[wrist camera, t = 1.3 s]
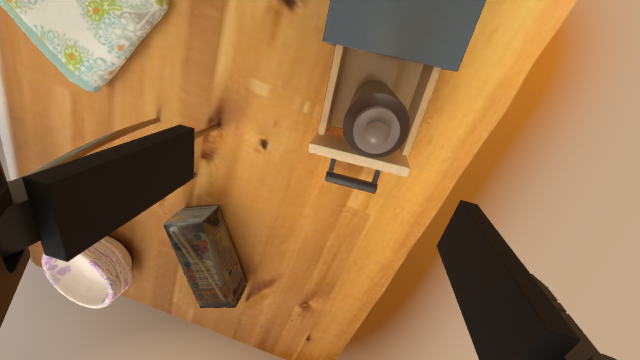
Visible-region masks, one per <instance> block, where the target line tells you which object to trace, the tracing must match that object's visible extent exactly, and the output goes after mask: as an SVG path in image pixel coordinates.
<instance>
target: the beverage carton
mask: <svg viewBox="0 0 640 360" xmlns="http://www.w3.org/2000/svg"><path fill="white" fill-rule="evenodd" d="M163 226H164V228H165V230H166V233H167V235H168V237H169V239H170V242H171V244H172V247H173V249H174V251H175V253H176V256H177V258H178V260H179V263H180V265H181V267H182V269H183V272H184V274H185V276H186V278H187V281H188V283H189V285H190V287H191V289H192V291H193V294H194V296H195V298H196V300H197V302H198V304H199V306H200V308H223V307H226V308H235V307H236V306H237V304H238V302H239V301H240V299H241V296H242V295H243V293H244V290H245V288H246V286H247V284H246V281H245V278H244V275H243V272H242V269H241V266H240V263H239V261H238V258H237V255H236V252H235V250H234V247H233V244H232V242H231V239H230V236H229V233H228V230H227V228H226V225H225V222H224V219H223V217H222V214H221V212H220V209H219V206H218V205H214V206H205V207H193V208H183V209H181V210H180V211H179V212H177V213H176V214H175V215H174V216H173V217H172V218H171V219H169V220H168V221H166V222H165V223H164V224H163Z"/></svg>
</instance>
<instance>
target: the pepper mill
mask: <svg viewBox="0 0 640 360" xmlns="http://www.w3.org/2000/svg"><path fill="white" fill-rule="evenodd" d="M409 129H410V118H409V114H408V111H407V109H406V108H405V106H404V105H403V103H402V102H401V101H400V100H399V99H398V97H397V96H396V95H395V94H394V92H393V91H392V90H391V89H390V88H389V86H388V85H387V84H385V83H384V82H382V81H379V80H369V81H366V82H364V83H362V84H361V85H360V86H359V87H358V88H357V89H356V91H355V93H354V95H353V97H352V100H351V102H350V104H349V107H348V109H347V111H346V114H345V117H344V120H343V133H344V137H345V140H346V141H347V143H348V145H349V146H350V147H351V148H352V149H353V150H354V151H355V152H356V153H358V154H360V155H362V156H365V157H369V158H381V157H385V156H388V155H390V154H392V153H394V152H395V151H396V150H398V149H399V148H400V147H401V146H402V145H403V143H404V142H405V140H406V138H407V136H408V133H409Z"/></svg>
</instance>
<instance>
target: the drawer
mask: <svg viewBox="0 0 640 360" xmlns="http://www.w3.org/2000/svg"><path fill="white" fill-rule="evenodd" d="M440 71H441V68H438V67H433V66H429V65H425V64H420V63H416V62H411V61H407V60H402V59H398V58H394V57H389V56H385V55H380V54H376V53H372V52H367V51H363V50H358V49H354V48H349V47H345V46H341V45H336V48H335V53H334V58H333V63H332V68H331V72H330V77H329V82H328V87H327V92H326V97H325V101H324V106H323V111H322V116H321V121H320V126H319V130H318V132H317V134H316V135H315V137H314V138H313V140H312V141H311V142H310V145H309V150H308V152H309V153H313V154H317V155H321V156H325V157H329V158H332V159H331V163H330V167H329V171H327V173H326V177H325V181H327V182H331V183H335V184H339V185H343V186H347V187H351V188H354V189H358V190H362V191H366V192H370V193H374V194H375V193H376V190H377V181H378V178H379V175H380V172H381V171H384V172H388V173H392V174H396V175H400V176H404V177H408V175H409V172H410V169H411V168H410V166H409V163H408V161H407V158H406V156H409V154H410V151H411V148H412V146H413V143H414V140H415V138H416V135H417V132H418V130H419V127H420V124H421V122H422V119H423V116H424V114H425V111H426V108H427V106H428V103H429V100H430V98H431V95H432V92H433V90H434V87H435V84H436V82H437V79H438V76H439V74H440ZM369 80H379V81H382V82H384V83H385V84H387V85H388V86H389V88H390V89H391V90H392V91H393V92H394V94H395V95H396V96H397V97H398V99H399V100H400V101H401V102H402V103H403V105H404V106H405V108H406V109H407V111H408V114H409V118H410V129H409V133H408V136H407V138H406V140H405V142H404V143H403V145H402V146H401V147H400V150H396V151H395V152H394V153H392V154H390V155H388V156H385V157H381V158H369V157H365V156H362V155H360V154H358V153H356V152H355V151H354V150H353V149H352V148H351V147H350V146H349V145H348V143H347V141H346V140H345V137H344V136H340V135H336V134H332V133H328V132H326V131H327V130H328V128H329V126H330V125H331V126H335V127H339V128H343V120H344V117H345V114H346V111H347V109H348V107H349V104H350V102H351V100H352V97H353V95H354V93H355V91H356V89H357V88H358V87H359V86H360V85H361V84H362V83H364V82H366V81H369ZM336 159H337V160H341V161H345V162H349V163H353V164H357V165H360V166H364V167H368V168H372V169H376V170H375V174H374V177H373V180H372V182H369V181H365V180H361V179H357V178H353V177H349V176H345V175H341V174H337V173H334V172H333V170H334V166H335V162H336Z"/></svg>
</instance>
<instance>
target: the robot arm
mask: <svg viewBox="0 0 640 360" xmlns="http://www.w3.org/2000/svg"><path fill="white" fill-rule="evenodd" d="M194 130H195V128H191V127H187V126H184V125H177V126H174V127H171V128H168V129H165V130H162V131H159V132H156V133H153V134H150V135H147V136H144V137H141V138H138V139H135V140H132V141H129V142H126V143H123V144H120V145H117V146H114V147H111V148H108V149H105V150H102V151H99V152H96V153H93V154H90V155H87V156H84V157H81V158H78V159H75V160H72V161H69V162H66V163H63V164H60V165H57V166H54V167H51V168H48V169H45V170H42V171H39V172H36V173H33V174H30V175H27V176H24V177H21V178H18V179H15V180H12V181H9V182H7V180H6V177H5V174H4V171H3V168H2V165H1V162H0V327H1V325H2V322H3V320H4V318H5V315H6V313H7V310H8V308H9V306H10V304H11V301H12V299H13V296H14V294H15V292H16V289H17V287H18V285H19V282H20V280H21V278H22V275H23V273H24V270H25V268H26V266H27V263H28V261H29V259H30V250H29V246H31V245H33V244H34V243H36V242H38V241H40V240H41V244H42V247H43V250H44V254H45V256H49V257H52V258H55V259H58V260H61V261H65V262H69V261H70V260H72V259H73V258H75V257H76V256H78V255H79V254H81V253H82V252H84V251H85V250H87V249H88V248H90V247H91V246H93V245H94V244H96V243H97V242H99V241H100V240H102V239H103V238H105V237H106V236H108V235H109V234H111V233H112V232H114V231H115V230H117V229H118V228H120V227H121V226H123V225H124V224H126V223H127V222H129V221H130V220H132V219H133V218H135V217H136V216H138V215H139V214H141V213H142V212H144V211H145V210H147V209H148V208H150V207H151V206H153V205H154V204H156V203H157V202H159V201H160V200H162V199H163V198H165V197H166V196H168V195H169V194H171V193H172V192H174V191H175V190H177V189H178V188H180V187H181V186H183V185H184V184H186V183H187V182H189V181H190V180H192V179H193V178H194ZM437 248H438V251H439V254H440V256H441V259H442V262H443V264H444V267H445V270H446V272H447V275H448V278H449V280H450V283H451V286H452V288H453V291H454V294H455V296H456V299H457V302H458V304H459V307H460V310H461V313H462V315H463V318H464V321H465V323H466V326H467V329H468V331H469V334H470V336H471V339H472V342H473V345H474V347H475V350H476V352H477V355H478V358H479V360H616V359H615V358H612V357H609V356H607V355H604V354H600V353H599V352H598V350H597V349H596V348H595V346H594V345H593V344H592V343H591V341H590V340H589V339H588V338H587V336H586V335H585V334H584V333H583V331H582V330H581V329H580V328H579V326H578V325H577V324H576V323H575V321H574V320H573V319H572V318H571V316H570V315H569V314H567V313H566V310H565V309H564V308H563V306H562V305H561V304H560V303H558V302H557V299H556V297H555V296H554V295H553V294H552V293H551V291H550V290H549V289H548V287H546V286H545V285H544V284H543V283H542V282H541V281H540V280H538V279H537V278H536V277H535V276H534V275H533V274H530V273H529V271H528V270H527V269H526V267H525V266H524V265H523V263H522V262H521V261H520V260H519V258H518V257H517V256H516V254H515V253H514V252H513V250H512V249H511V248H510V247H509V245H508V244H507V243H506V241H505V240H504V239H503V237H502V236H501V235H500V234H499V232H498V231H497V230H496V228H495V227H494V226H493V224H492V223H491V222H490V220H489V219H488V218H487V217H486V215H485V214H484V213H483V211H482V210H481V209H480V207H479V206H478V205H477V204H474V203H470V202H467V201H462V200H460V202H459V204H458V206H457V208H456V210H455V212H454V214H453V216H452V217H451V219H450V221H449V223H448V225H447V227H446V229H445V231H444V233H443V235H442V237H441V239H440V241H439V242H438V245H437Z"/></svg>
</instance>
